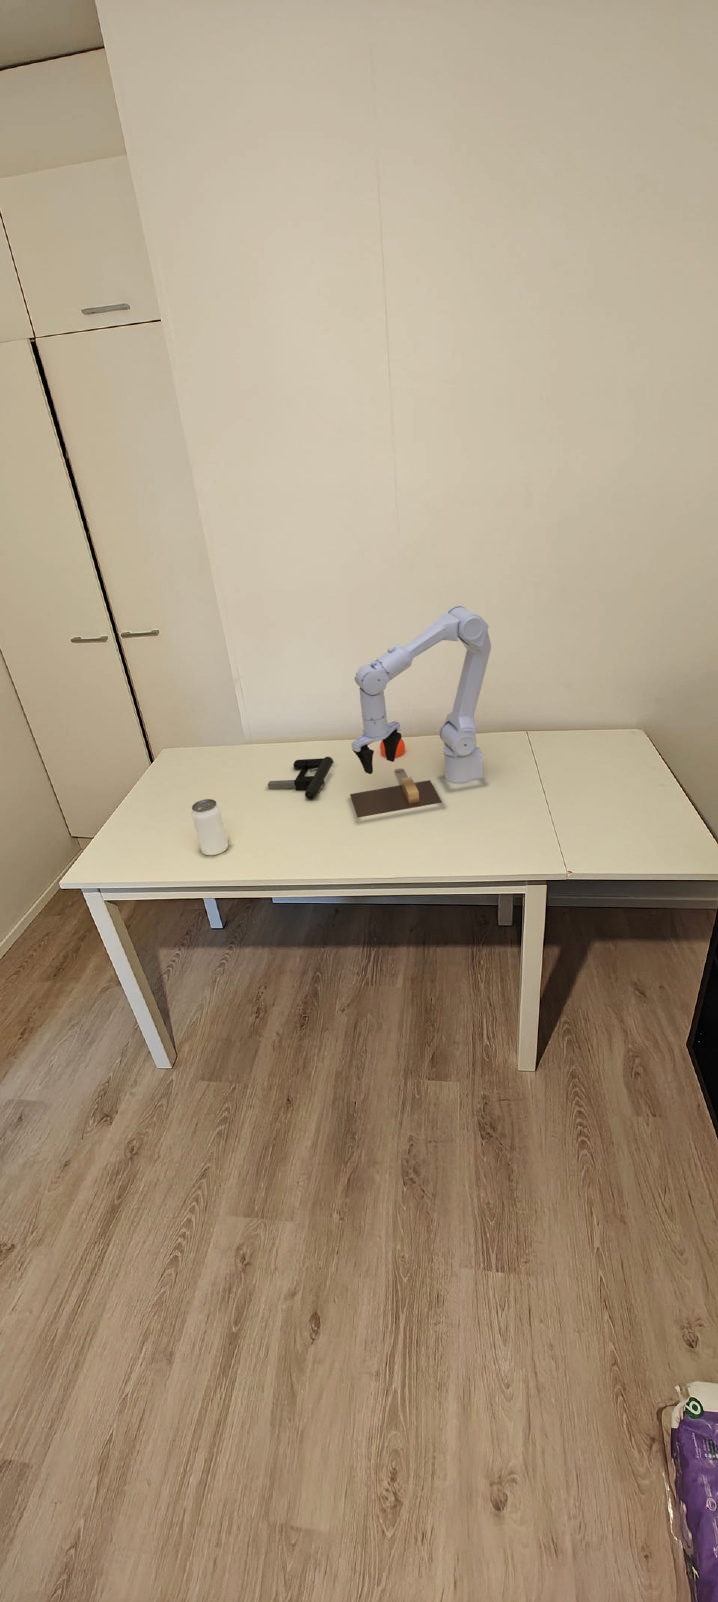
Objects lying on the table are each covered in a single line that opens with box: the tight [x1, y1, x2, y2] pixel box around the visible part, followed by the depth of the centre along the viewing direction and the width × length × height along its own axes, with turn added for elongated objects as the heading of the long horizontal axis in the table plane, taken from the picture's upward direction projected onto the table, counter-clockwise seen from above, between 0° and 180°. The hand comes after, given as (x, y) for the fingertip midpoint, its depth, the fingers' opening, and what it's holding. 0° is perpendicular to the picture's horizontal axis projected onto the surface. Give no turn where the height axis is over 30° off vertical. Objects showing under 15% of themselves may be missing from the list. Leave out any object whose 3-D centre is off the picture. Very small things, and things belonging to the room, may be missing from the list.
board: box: [349, 779, 443, 819], centre depth 177 cm, size 21×12×2 cm, turn 99°
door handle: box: [267, 756, 336, 800], centre depth 192 cm, size 3×20×16 cm
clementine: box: [379, 738, 406, 759], centre depth 197 cm, size 8×7×7 cm
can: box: [191, 798, 229, 857], centre depth 165 cm, size 6×6×12 cm
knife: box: [394, 768, 419, 804], centre depth 180 cm, size 18×3×3 cm, turn 9°
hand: (379, 766), depth 174 cm, fingers open, 7 cm apart
